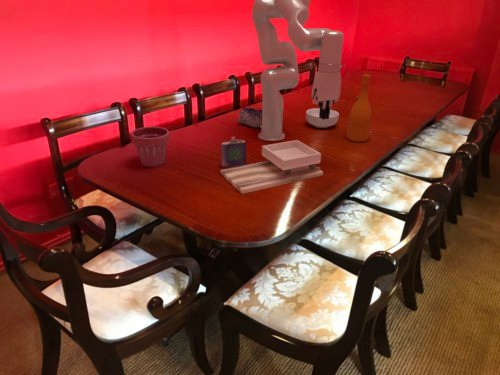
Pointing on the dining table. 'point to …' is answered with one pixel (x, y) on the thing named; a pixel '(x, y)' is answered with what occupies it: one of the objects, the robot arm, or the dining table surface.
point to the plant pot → (151, 145)
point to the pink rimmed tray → (291, 155)
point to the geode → (250, 117)
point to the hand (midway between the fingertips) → (324, 118)
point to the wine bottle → (360, 114)
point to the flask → (233, 153)
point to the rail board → (266, 176)
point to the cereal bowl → (314, 119)
